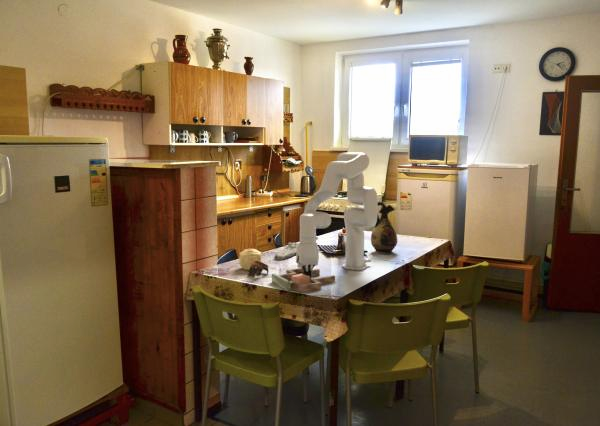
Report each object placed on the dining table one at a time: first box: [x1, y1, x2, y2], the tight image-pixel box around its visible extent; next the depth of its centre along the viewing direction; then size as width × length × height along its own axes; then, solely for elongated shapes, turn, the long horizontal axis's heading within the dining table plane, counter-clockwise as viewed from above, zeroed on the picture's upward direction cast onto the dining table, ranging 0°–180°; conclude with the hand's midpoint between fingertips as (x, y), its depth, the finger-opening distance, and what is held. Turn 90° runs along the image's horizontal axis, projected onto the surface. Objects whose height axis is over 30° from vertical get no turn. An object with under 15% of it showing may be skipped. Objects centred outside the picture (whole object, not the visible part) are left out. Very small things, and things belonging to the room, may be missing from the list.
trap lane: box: [271, 267, 336, 294], centre depth 230 cm, size 26×27×4 cm
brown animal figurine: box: [247, 261, 269, 278], centre depth 242 cm, size 12×10×8 cm
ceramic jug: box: [370, 201, 398, 255], centre depth 289 cm, size 17×15×30 cm
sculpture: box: [238, 248, 263, 271], centre depth 254 cm, size 12×12×11 cm
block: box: [291, 274, 310, 285], centre depth 227 cm, size 6×6×4 cm
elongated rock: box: [273, 241, 298, 261], centre depth 288 cm, size 35×5×10 cm
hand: (307, 278), depth 231 cm, fingers closed
